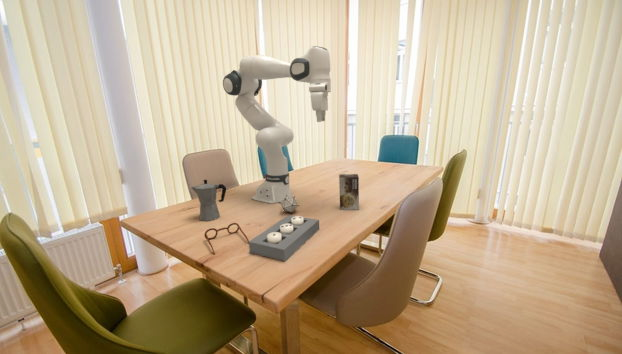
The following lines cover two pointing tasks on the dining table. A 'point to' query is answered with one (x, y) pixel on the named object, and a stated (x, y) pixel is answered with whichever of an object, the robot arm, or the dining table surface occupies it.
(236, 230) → the glasses
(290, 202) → the game die
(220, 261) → the dining table surface
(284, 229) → the button three
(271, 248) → the button panel
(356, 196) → the coffee box
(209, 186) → the coffeepot
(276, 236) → the button one
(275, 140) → the robot arm
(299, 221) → the button two
